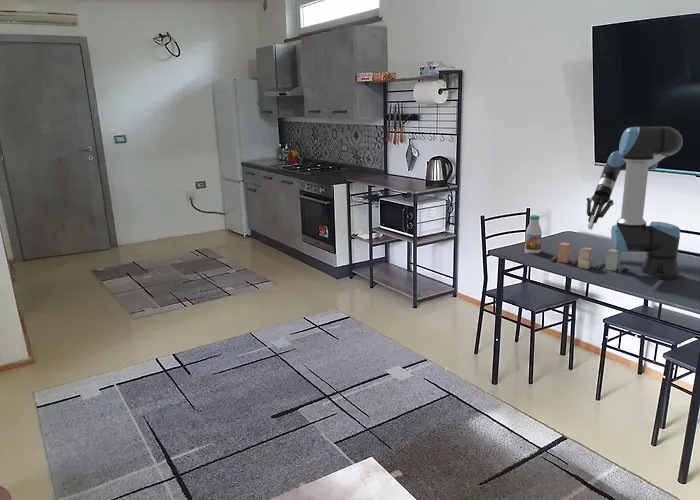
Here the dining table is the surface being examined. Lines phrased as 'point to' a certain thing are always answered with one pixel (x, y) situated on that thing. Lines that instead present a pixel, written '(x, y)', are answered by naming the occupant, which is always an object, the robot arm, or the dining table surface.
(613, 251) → the sage green block
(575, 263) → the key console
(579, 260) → the birch key
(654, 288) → the dining table surface
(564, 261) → the salmon pink block
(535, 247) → the milk bottle
